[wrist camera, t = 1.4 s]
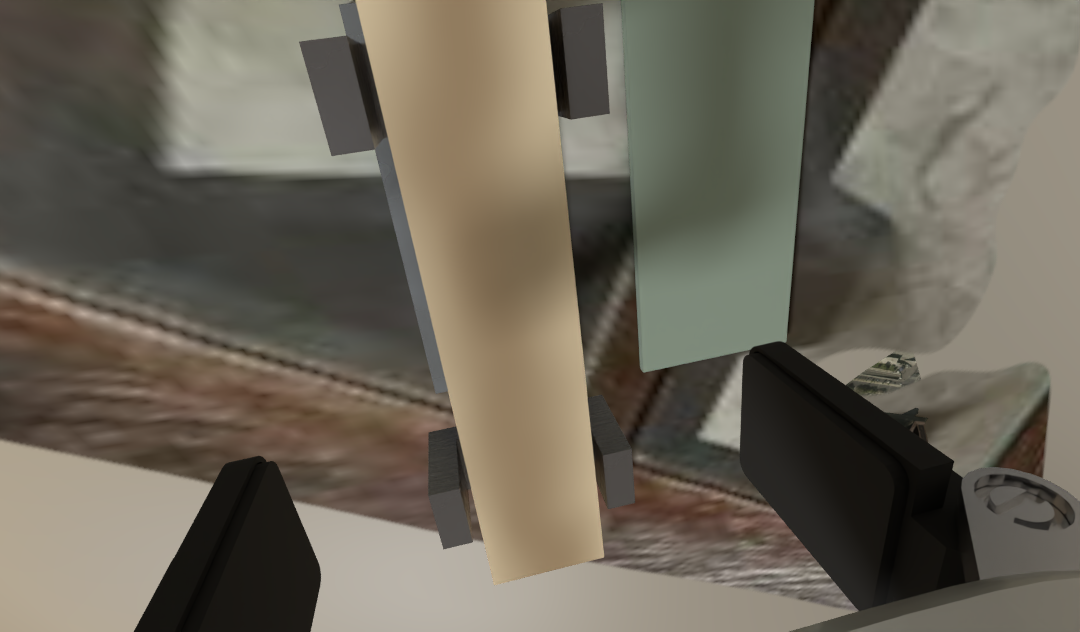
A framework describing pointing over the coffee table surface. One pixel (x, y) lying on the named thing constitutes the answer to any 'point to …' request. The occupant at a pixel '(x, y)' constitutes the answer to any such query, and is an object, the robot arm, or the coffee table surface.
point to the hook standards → (361, 127)
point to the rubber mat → (714, 170)
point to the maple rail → (495, 262)
